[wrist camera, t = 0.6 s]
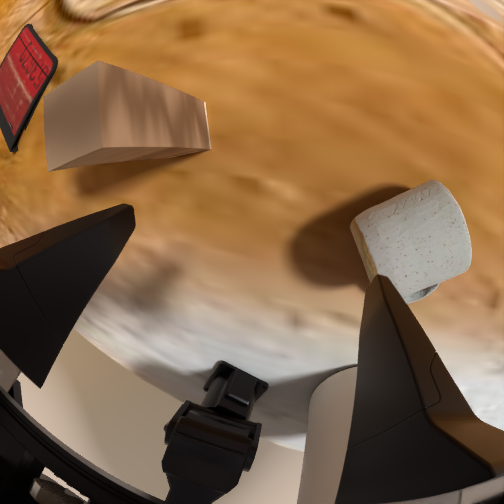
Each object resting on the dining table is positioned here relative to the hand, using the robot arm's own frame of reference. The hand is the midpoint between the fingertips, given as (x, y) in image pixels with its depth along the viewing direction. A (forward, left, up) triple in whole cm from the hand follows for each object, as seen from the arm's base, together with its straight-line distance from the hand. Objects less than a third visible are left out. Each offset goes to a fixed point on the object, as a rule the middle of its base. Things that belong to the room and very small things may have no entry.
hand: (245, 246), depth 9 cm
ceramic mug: (+2, -11, -15) cm, 19 cm away
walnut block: (+1, +11, -15) cm, 18 cm away
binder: (0, +47, -16) cm, 49 cm away
